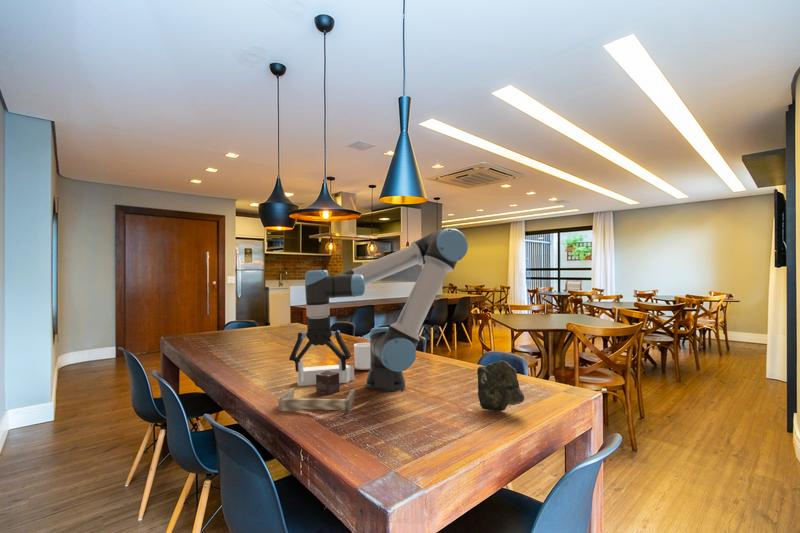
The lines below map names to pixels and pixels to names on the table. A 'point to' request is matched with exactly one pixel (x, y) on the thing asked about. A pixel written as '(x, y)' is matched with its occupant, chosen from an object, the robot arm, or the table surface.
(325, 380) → the box
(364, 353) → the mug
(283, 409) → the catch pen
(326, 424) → the table surface
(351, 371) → the milk
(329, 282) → the robot arm
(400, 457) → the table surface
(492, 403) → the stone
